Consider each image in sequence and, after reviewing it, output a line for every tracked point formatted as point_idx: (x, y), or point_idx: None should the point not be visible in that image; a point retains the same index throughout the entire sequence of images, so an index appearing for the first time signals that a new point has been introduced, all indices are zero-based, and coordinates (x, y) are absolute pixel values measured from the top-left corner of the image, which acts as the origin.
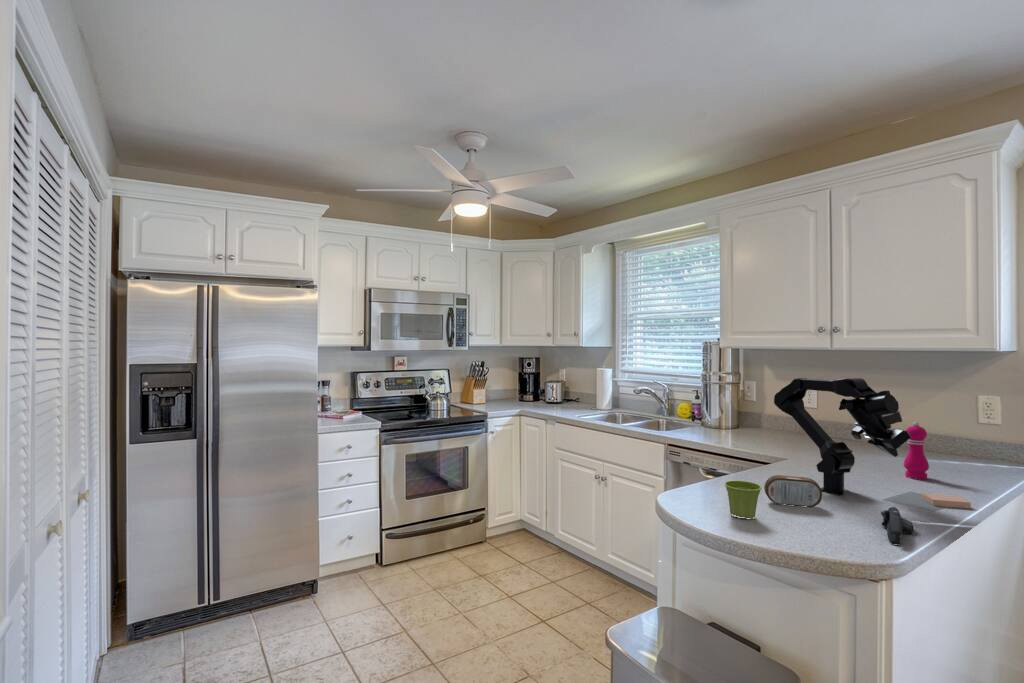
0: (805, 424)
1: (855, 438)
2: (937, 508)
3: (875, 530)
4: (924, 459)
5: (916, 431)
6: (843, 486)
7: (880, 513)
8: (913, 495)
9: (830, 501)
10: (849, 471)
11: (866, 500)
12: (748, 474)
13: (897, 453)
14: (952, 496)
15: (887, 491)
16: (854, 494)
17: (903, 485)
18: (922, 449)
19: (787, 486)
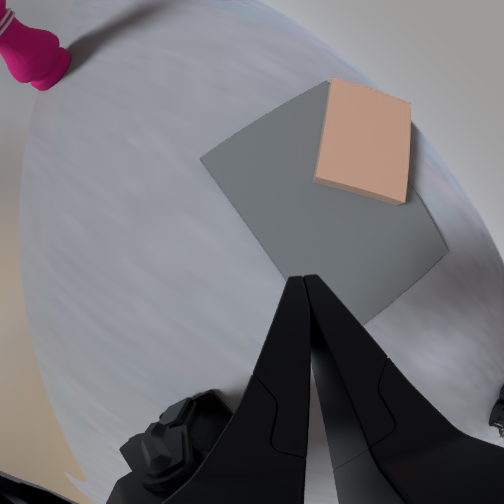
0: None
1: (64, 497)
2: (420, 213)
3: (492, 435)
4: (41, 33)
5: None
6: (224, 426)
7: (500, 437)
8: (259, 181)
9: (322, 474)
10: (188, 430)
11: (314, 387)
12: (84, 487)
13: (328, 288)
14: (346, 98)
15: (177, 232)
16: (236, 386)
17: (105, 129)
18: (20, 23)
19: None
